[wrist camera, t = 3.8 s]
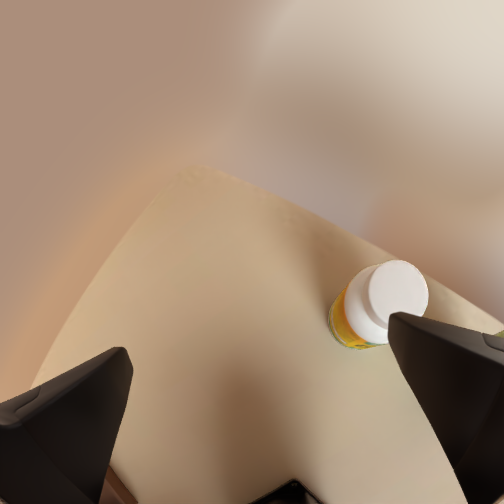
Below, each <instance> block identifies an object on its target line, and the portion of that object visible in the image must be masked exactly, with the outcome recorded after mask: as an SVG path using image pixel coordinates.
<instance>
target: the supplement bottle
mask: <svg viewBox="0 0 504 504" xmlns="http://www.w3.org/2000/svg"><path fill="white" fill-rule="evenodd" d="M427 304H428V288H427V284H426V282H425V279H424V277H423V275H422V274H421V273H420V271H419V270H418V269H417V268H416V267H414V266H413V265H412V264H410V263H408V262H406V261H403V260H389V261H386V262H384V263H382V264H379V265H373V266H369V267H367V268H365V269H363V270H362V271H360V272H359V273H358V274H357V275H356V276H355V277H354V278H353V279H352V280H351V282H350V283H349V284H348V285H347V286H346V288H345V289H344V290H343V291H342V292H341V293H340V295H339V296H338V297H337V298H336V299H335V301H334V302H333V304H332V306H331V308H330V311H329V316H328V324H329V329H330V332H331V334H332V336H333V337H334V339H335V340H336V341H337V342H338V343H339V344H341V345H342V346H344V347H346V348H349V349H354V350H361V349H366V348H370V347H375V346H380V345H384V344H388V343H389V342H388V338H387V333H388V321H389V316H390V314H391V313H395V312H399V311H402V312H406V313H409V314H413V315H417V316H422V315H423V314H424V312H425V310H426V307H427Z"/></svg>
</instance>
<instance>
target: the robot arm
mask: <svg viewBox="0 0 504 504" xmlns="http://www.w3.org/2000/svg"><path fill="white" fill-rule="evenodd" d="M387 338H388V342H389V344H390V346H391V348H392V351H393V353H394V355H395V357H396V360H397V362H398V364H399V367H400V369H401V371H402V373H403V375H404V377H405V379H406V381H407V382H408V384H409V386H410V388H411V389H412V391H413V393H414V395H415V397H416V398H417V400H418V402H419V404H420V406H421V407H422V409H423V411H424V413H425V415H426V417H427V418H428V420H429V422H430V424H431V426H432V428H433V430H434V432H435V434H436V436H437V438H438V440H439V442H440V444H441V446H442V448H443V450H444V452H445V454H446V456H447V458H448V460H449V462H450V464H451V466H452V468H453V469H454V473H455V475H456V477H457V479H458V482H459V484H460V486H461V488H462V491H463V493H464V495H465V498H466V500H467V502H468V504H498V503H499V502H501V501H502V500H503V499H504V338H502V337H498V336H494V335H490V334H486V333H482V334H481V332H478V331H474V330H470V329H466V328H462V327H458V326H454V325H451V324H447V323H443V322H439V321H435V320H432V319H428V318H424V317H421V316H417V315H413V314H409V313H406V312H402V311H399V312H395V313H391V314H390V316H389V321H388V333H387ZM132 376H133V366H132V363H131V361H130V358H129V355H128V353H127V350H126V349H125V348H124V347H113V348H111V349H109V350H107V351H105V352H103V353H101V354H100V355H98V356H96V357H94V358H92V359H90V360H88V361H86V362H84V363H82V364H80V365H79V366H77V367H75V368H73V369H71V370H69V371H67V372H65V373H63V374H61V375H59V376H57V377H55V378H53V379H51V380H49V381H47V382H45V383H44V384H42V385H39V386H37V387H36V388H34V389H32V390H29V391H27V392H25V393H23V394H21V395H19V396H16V397H14V398H12V399H10V400H7V401H5V402H2V403H0V504H99V501H100V497H101V493H102V489H103V485H104V481H105V477H106V473H107V469H108V466H109V462H110V458H111V455H112V451H113V448H114V444H115V441H116V438H117V434H118V431H119V428H120V424H121V421H122V418H123V415H124V412H125V408H126V404H127V400H128V395H129V390H130V386H131V381H132ZM292 483H297V484H296V485H294V486H293V485H291V484H292ZM249 504H323V503H322V502H321V501H320V500H319V499H318V498H317V497H316V496H315V495H314V494H312V493H311V492H310V491H309V490H308V489H307V488H306V487H305V486H304V485H303V484H302V483H301V482H300V481H299V480H298V479H291V480H289V481H288V482H286V483H285V484H283V485H281V486H280V487H278V488H276V489H275V490H273V491H271V492H269V493H268V494H266V495H264V496H262V497H260V498H258V499H257V500H255V501H253V502H251V503H249Z"/></svg>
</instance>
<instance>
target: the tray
mask: <svg viewBox="0 0 504 504" xmlns="http://www.w3.org/2000/svg"><path fill="white" fill-rule="evenodd" d="M137 503H138V502H137V501H136V500H135V499H134V497H133V496H132V495H131V494H130V493H129V491H128V490H127V489H126V488H125V486H124V485H123V484H122V482H121V481H120V480H119V479H118V477H117V476H116V475H115V473H114V472H113V470H112V469H111V468H110V466H108V469H107V473H106V477H105V481H104V485H103V489H102V493H101V497H100V501H99V504H137Z"/></svg>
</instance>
